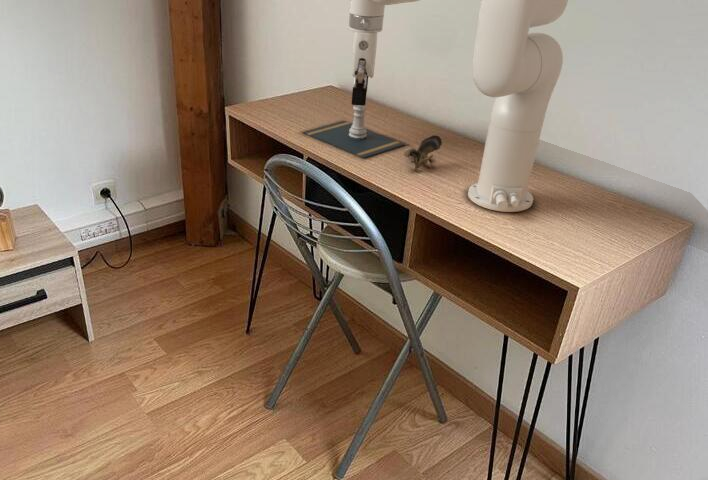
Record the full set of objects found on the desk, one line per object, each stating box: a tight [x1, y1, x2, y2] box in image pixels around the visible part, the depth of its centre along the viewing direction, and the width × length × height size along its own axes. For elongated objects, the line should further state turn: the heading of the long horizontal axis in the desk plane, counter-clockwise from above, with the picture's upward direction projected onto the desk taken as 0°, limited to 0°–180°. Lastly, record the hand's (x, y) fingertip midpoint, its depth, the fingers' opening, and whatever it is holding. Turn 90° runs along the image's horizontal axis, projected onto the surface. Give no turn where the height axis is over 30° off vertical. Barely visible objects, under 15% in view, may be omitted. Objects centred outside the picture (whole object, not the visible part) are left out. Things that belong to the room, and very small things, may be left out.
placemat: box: [302, 120, 406, 159], centre depth 155 cm, size 21×14×1 cm, turn 41°
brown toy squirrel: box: [403, 134, 443, 172], centre depth 141 cm, size 8×7×9 cm
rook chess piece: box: [349, 105, 368, 139], centre depth 154 cm, size 4×4×8 cm
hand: (359, 98), depth 151 cm, fingers open, 9 cm apart
